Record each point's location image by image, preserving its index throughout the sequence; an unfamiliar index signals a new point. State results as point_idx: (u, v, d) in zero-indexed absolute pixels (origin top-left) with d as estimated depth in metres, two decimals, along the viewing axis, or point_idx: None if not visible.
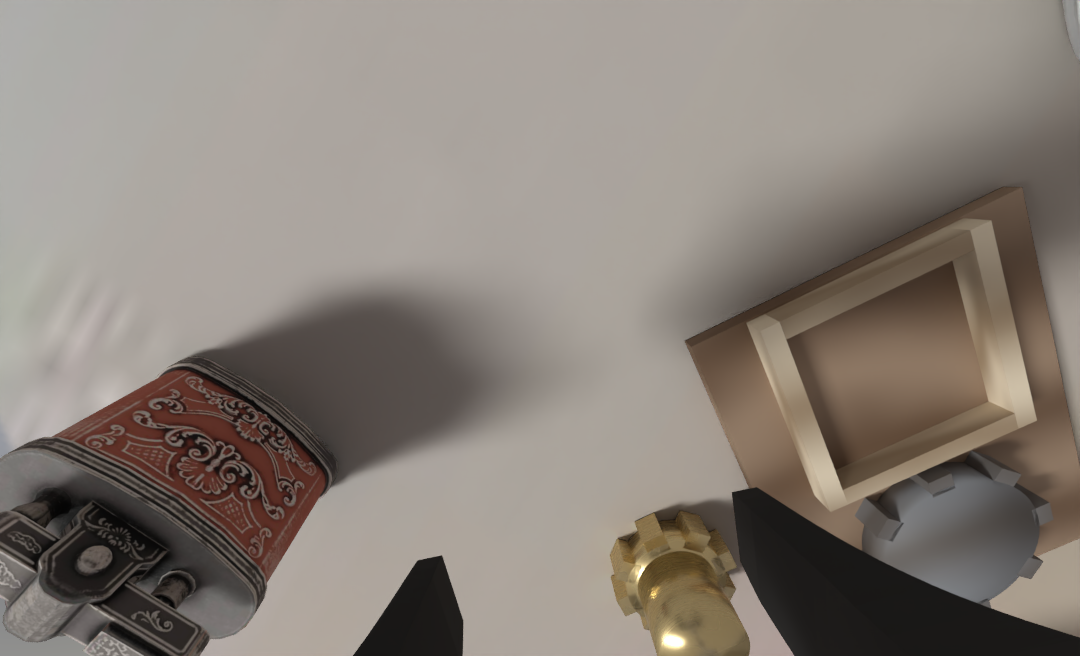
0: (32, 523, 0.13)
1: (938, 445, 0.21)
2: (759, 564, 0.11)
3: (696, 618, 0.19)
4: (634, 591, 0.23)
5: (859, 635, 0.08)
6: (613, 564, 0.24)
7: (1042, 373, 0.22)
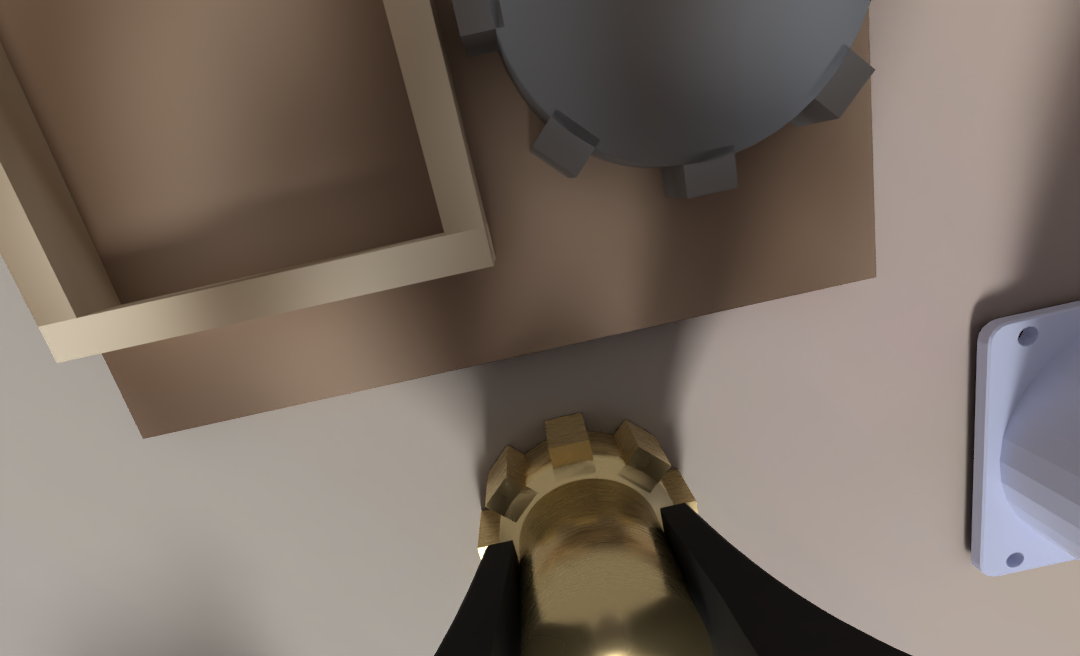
0: None
1: None
2: None
3: None
4: None
5: None
6: None
7: None
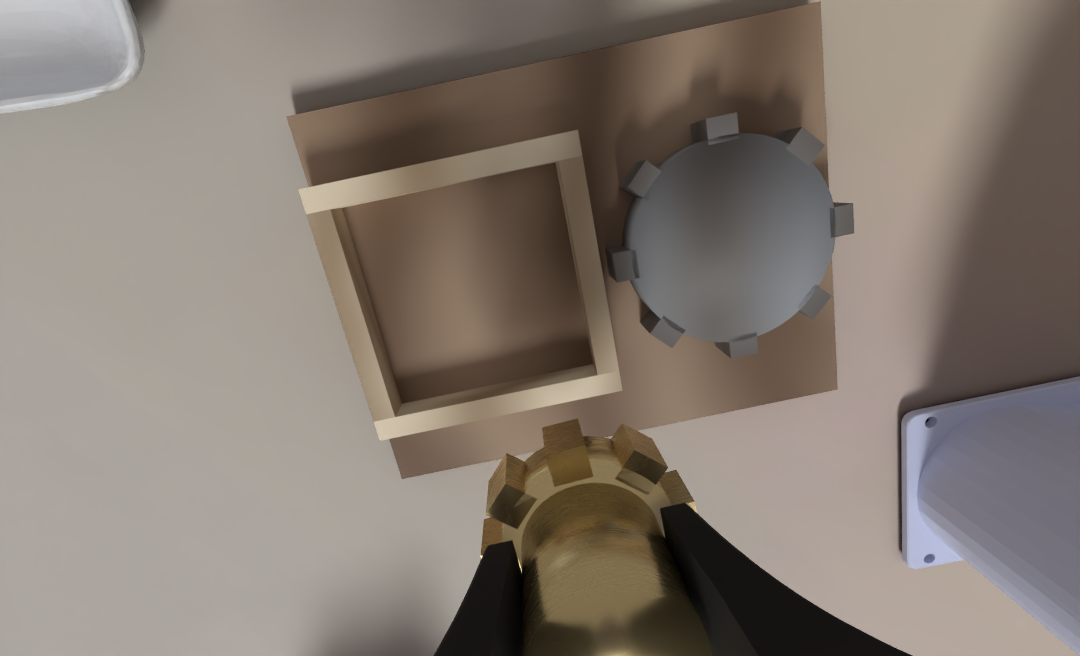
0: None
1: (576, 256, 0.17)
2: None
3: None
4: None
5: None
6: None
7: (535, 88, 0.17)
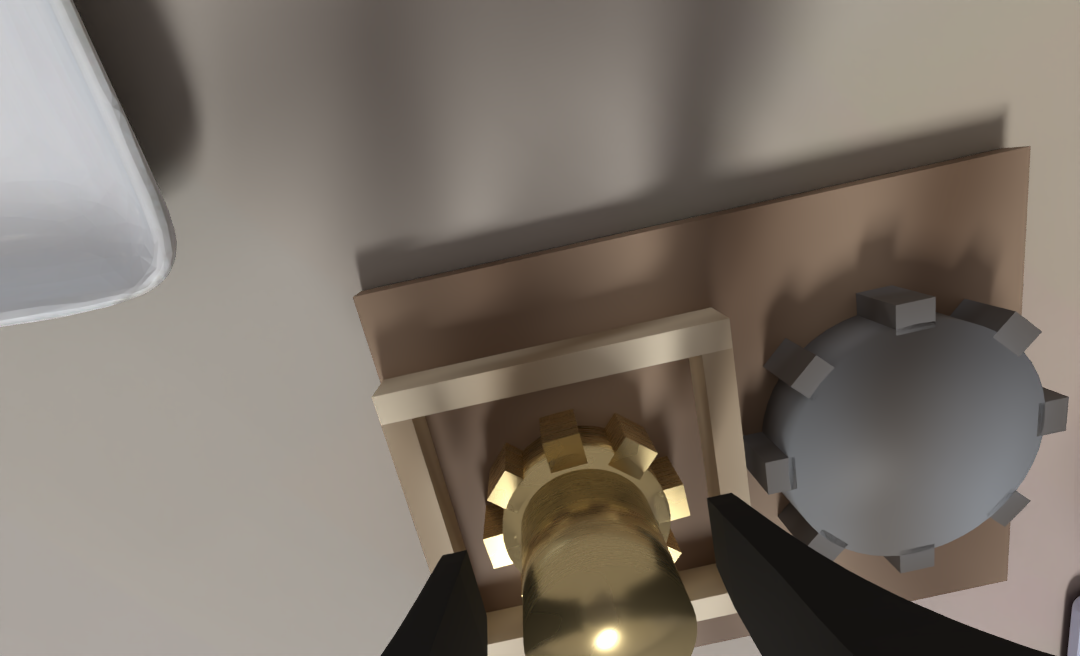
0: None
1: (715, 460, 0.14)
2: (732, 570, 0.11)
3: (526, 647, 0.10)
4: None
5: (820, 643, 0.08)
6: None
7: (667, 256, 0.13)
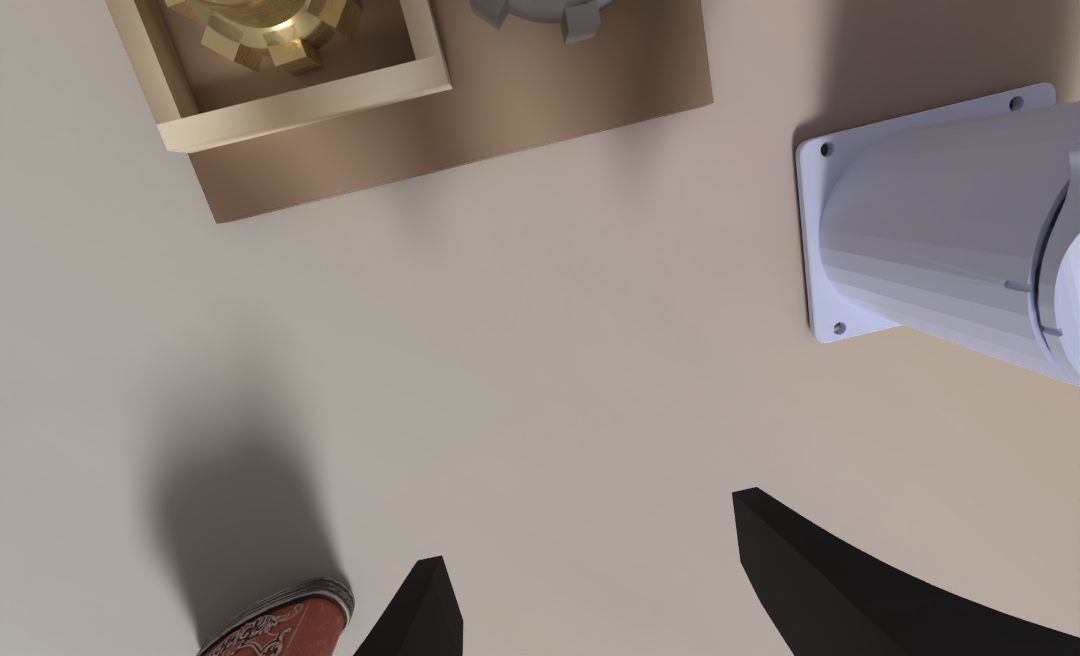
0: None
1: None
2: (759, 564, 0.11)
3: None
4: (257, 33, 0.15)
5: (859, 635, 0.08)
6: (243, 65, 0.16)
7: None
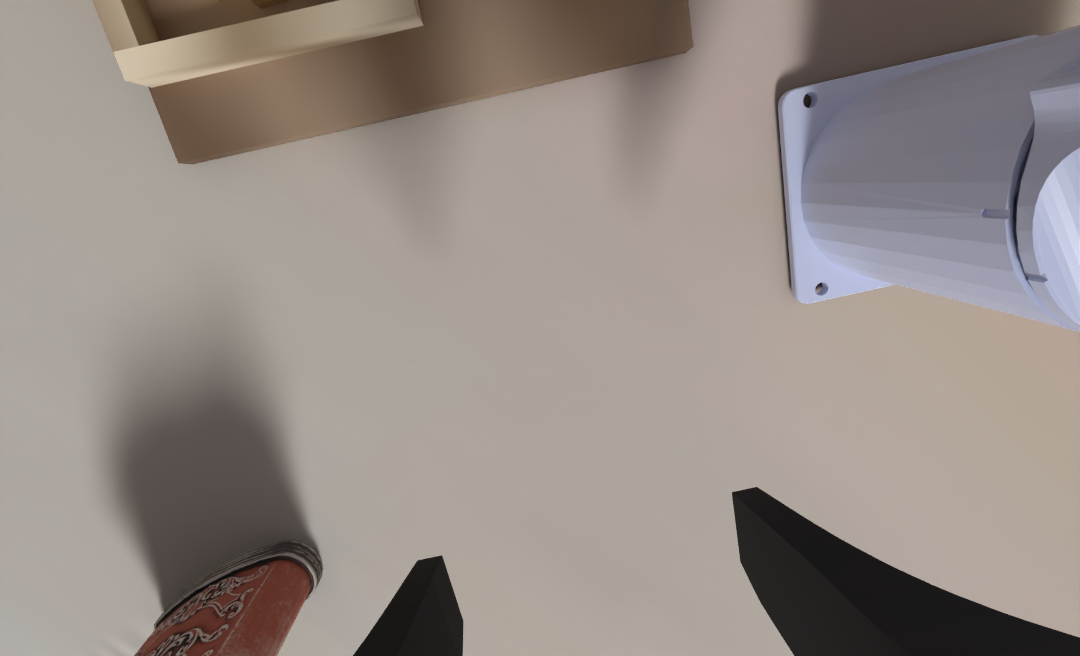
0: None
1: None
2: (759, 564, 0.11)
3: None
4: None
5: (859, 635, 0.08)
6: None
7: None
